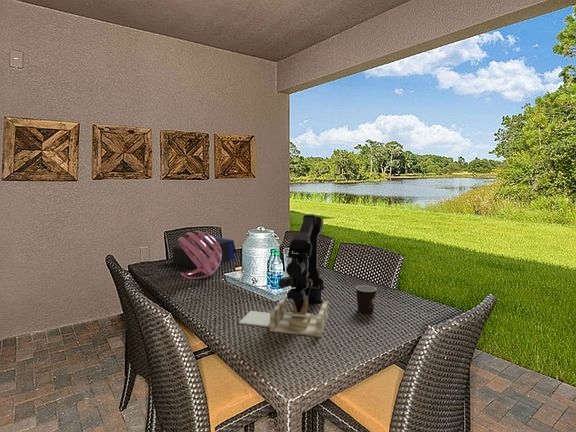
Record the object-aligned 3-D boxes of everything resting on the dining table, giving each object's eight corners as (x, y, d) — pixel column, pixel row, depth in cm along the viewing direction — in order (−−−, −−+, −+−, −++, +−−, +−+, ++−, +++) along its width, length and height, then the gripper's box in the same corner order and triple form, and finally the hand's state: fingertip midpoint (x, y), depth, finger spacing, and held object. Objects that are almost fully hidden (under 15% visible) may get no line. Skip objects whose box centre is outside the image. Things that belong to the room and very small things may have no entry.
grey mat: (250, 312, 148) (250, 310, 148) (277, 315, 145) (277, 313, 145) (239, 323, 136) (239, 322, 136) (268, 327, 133) (268, 325, 133)
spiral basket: (162, 250, 179) (203, 218, 190) (160, 252, 205) (196, 224, 215) (197, 291, 183) (235, 257, 194) (190, 288, 209) (224, 258, 219)
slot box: (283, 312, 147) (283, 297, 146) (328, 317, 142) (328, 301, 141) (270, 331, 130) (270, 313, 129) (320, 337, 125) (320, 318, 124)
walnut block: (295, 308, 138) (295, 294, 138) (307, 310, 137) (308, 295, 136) (292, 313, 134) (292, 298, 133) (305, 315, 132) (305, 299, 132)
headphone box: (237, 259, 243) (236, 239, 241) (194, 269, 216) (194, 247, 214) (215, 254, 258) (214, 235, 257) (173, 263, 232) (172, 242, 230)
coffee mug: (364, 316, 143) (364, 293, 142) (351, 309, 151) (351, 287, 150) (385, 311, 149) (386, 288, 148) (371, 304, 156) (372, 283, 155)
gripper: (286, 263, 144) (286, 299, 146) (273, 275, 126) (273, 316, 128) (313, 265, 141) (312, 301, 143) (303, 278, 124) (302, 319, 125)
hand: (300, 309), depth 135 cm, fingers closed on walnut block, 5 cm apart
